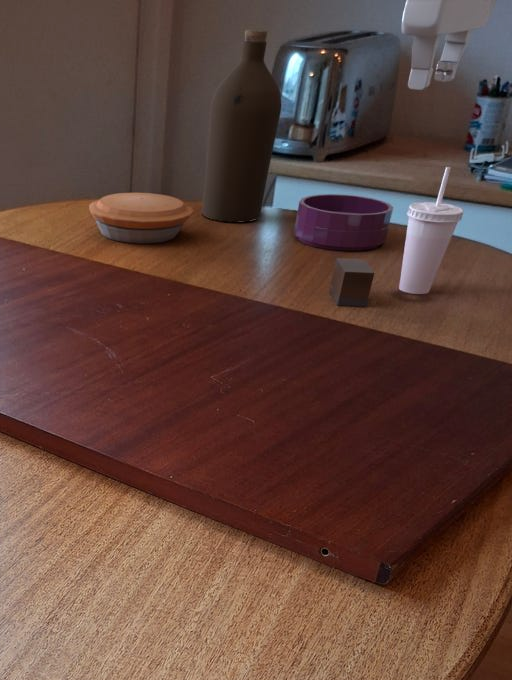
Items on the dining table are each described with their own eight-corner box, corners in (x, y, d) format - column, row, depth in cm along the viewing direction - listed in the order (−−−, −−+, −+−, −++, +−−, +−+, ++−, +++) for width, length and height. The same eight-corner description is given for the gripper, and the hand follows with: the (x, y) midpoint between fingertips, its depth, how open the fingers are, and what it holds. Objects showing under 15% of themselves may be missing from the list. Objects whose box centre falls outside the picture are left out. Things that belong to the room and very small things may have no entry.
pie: (148, 254, 124) (151, 215, 121) (66, 233, 133) (68, 197, 130) (210, 234, 133) (214, 199, 130) (130, 217, 142) (133, 182, 139)
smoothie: (445, 288, 113) (481, 167, 105) (432, 300, 109) (469, 175, 101) (396, 279, 116) (426, 161, 108) (381, 291, 112) (412, 169, 103)
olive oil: (271, 224, 139) (303, 33, 124) (205, 224, 138) (229, 32, 123) (253, 208, 147) (281, 28, 132) (191, 208, 147) (212, 27, 131)
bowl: (373, 230, 137) (382, 195, 133) (392, 253, 126) (402, 216, 123) (287, 227, 137) (294, 192, 134) (300, 250, 127) (307, 212, 124)
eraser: (328, 291, 112) (336, 258, 109) (356, 292, 112) (364, 259, 109) (337, 305, 107) (344, 271, 105) (366, 307, 107) (374, 272, 104)
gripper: (482, -91, 75) (433, 97, 84) (532, -82, 89) (485, 79, 97) (409, -91, 78) (368, 91, 87) (468, -82, 91) (427, 74, 100)
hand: (430, 85), depth 92 cm, fingers open, 8 cm apart
